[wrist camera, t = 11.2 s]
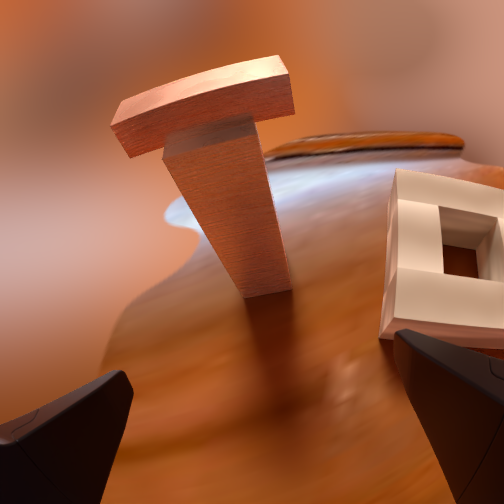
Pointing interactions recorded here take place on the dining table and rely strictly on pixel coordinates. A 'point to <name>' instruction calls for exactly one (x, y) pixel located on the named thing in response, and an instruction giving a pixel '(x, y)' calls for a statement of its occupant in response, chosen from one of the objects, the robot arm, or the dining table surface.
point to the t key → (220, 160)
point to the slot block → (431, 260)
